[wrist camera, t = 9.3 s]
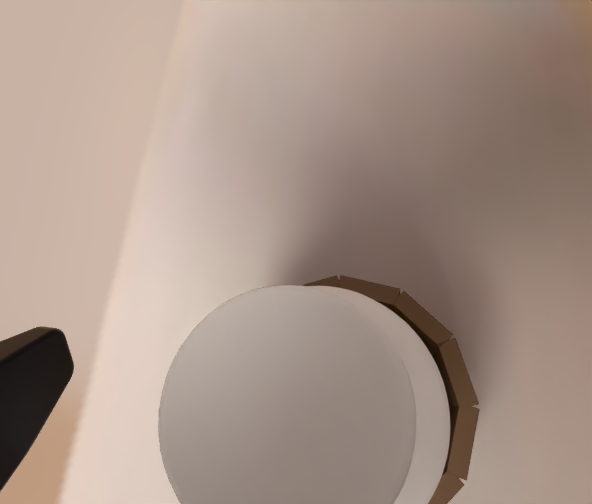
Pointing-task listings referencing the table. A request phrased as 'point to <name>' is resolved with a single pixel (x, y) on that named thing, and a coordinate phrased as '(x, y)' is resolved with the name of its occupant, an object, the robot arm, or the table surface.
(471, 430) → the holder
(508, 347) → the table surface
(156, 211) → the table surface
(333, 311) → the supplement bottle
